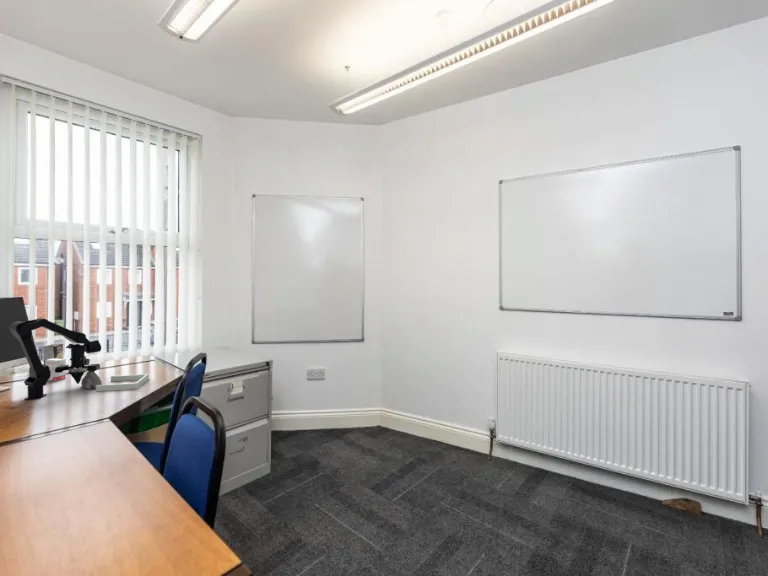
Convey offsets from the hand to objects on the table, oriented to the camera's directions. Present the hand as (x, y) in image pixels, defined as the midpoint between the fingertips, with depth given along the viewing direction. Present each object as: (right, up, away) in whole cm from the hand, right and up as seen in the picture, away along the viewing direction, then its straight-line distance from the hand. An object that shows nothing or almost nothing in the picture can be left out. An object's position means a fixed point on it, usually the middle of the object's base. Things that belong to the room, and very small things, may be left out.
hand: (78, 383), depth 204 cm
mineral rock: (+6, -2, +2) cm, 7 cm away
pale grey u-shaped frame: (+21, -2, +6) cm, 22 cm away
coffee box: (-42, 0, +33) cm, 53 cm away
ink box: (-25, -1, +14) cm, 28 cm away
